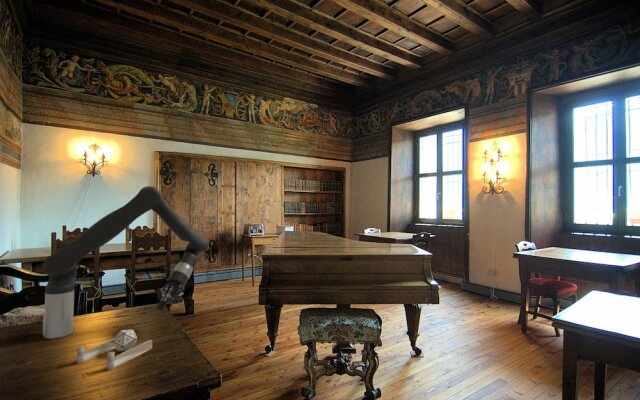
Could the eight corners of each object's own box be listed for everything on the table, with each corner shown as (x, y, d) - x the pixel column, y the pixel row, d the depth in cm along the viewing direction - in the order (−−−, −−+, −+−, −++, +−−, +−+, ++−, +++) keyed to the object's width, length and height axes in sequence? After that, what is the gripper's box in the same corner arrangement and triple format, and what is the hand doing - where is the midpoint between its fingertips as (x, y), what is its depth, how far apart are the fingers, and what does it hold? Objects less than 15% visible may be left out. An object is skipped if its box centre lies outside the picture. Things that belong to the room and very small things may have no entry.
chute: (74, 363, 108) (75, 348, 108) (121, 342, 125) (121, 329, 125) (109, 370, 104) (110, 354, 104) (153, 348, 120) (153, 334, 121)
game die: (126, 363, 116) (122, 348, 111) (107, 352, 118) (103, 336, 112) (146, 343, 124) (143, 327, 118) (128, 333, 125) (124, 317, 120)
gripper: (164, 268, 145) (140, 304, 132) (189, 271, 141) (167, 307, 129) (172, 278, 149) (150, 313, 137) (196, 280, 146) (176, 317, 134)
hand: (158, 310), depth 133 cm, fingers closed
